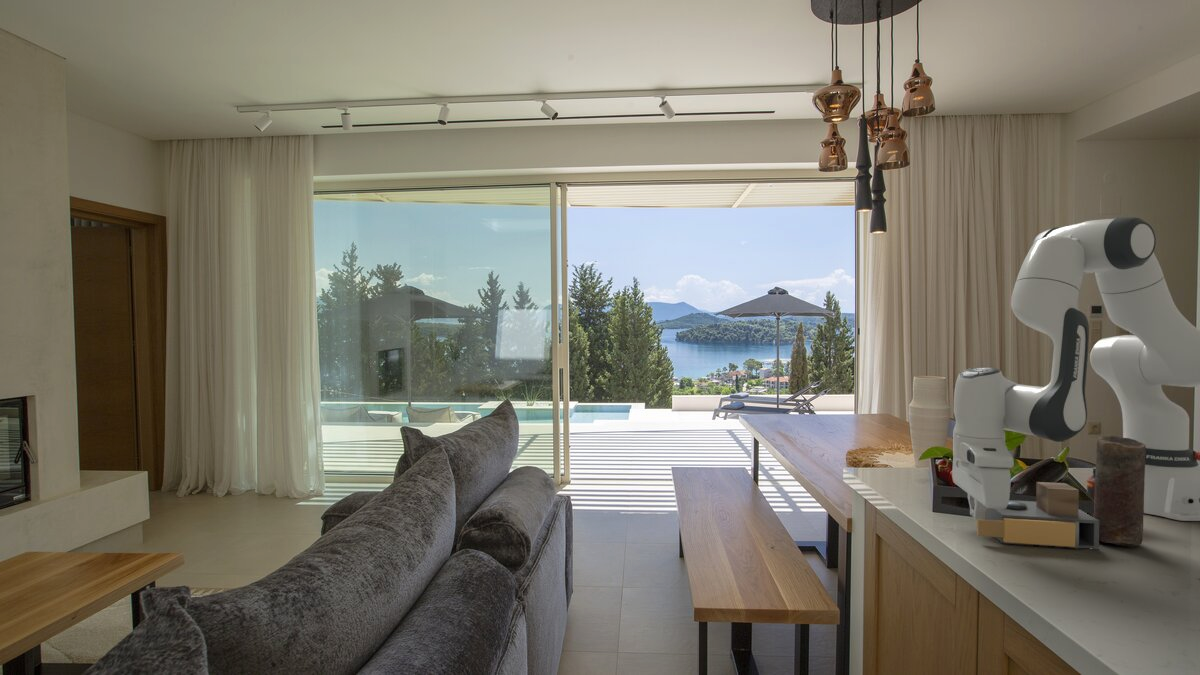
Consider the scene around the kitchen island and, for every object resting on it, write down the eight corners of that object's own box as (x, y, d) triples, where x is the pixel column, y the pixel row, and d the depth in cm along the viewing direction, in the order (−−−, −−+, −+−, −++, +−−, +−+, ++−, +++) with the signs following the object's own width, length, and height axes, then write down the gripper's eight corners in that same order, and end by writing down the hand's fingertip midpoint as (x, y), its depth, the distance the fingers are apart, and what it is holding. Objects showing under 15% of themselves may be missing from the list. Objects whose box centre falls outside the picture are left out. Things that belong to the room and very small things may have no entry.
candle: (1136, 539, 120) (1137, 437, 119) (1150, 552, 113) (1152, 444, 113) (1087, 534, 123) (1088, 434, 122) (1098, 546, 116) (1100, 440, 116)
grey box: (1068, 530, 125) (1068, 500, 125) (1098, 549, 115) (1099, 517, 115) (980, 524, 129) (981, 495, 129) (1002, 543, 118) (1002, 511, 118)
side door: (1077, 546, 115) (1077, 521, 115) (1079, 548, 114) (1080, 522, 114) (976, 540, 119) (976, 515, 119) (978, 541, 118) (978, 516, 118)
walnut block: (1036, 506, 123) (1036, 481, 123) (1064, 508, 122) (1065, 483, 122) (1048, 514, 118) (1048, 488, 118) (1078, 516, 117) (1078, 490, 117)
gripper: (944, 439, 134) (943, 502, 134) (979, 459, 114) (978, 533, 115) (976, 440, 133) (976, 504, 133) (1018, 461, 113) (1016, 536, 113)
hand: (977, 518), depth 124 cm, fingers closed
